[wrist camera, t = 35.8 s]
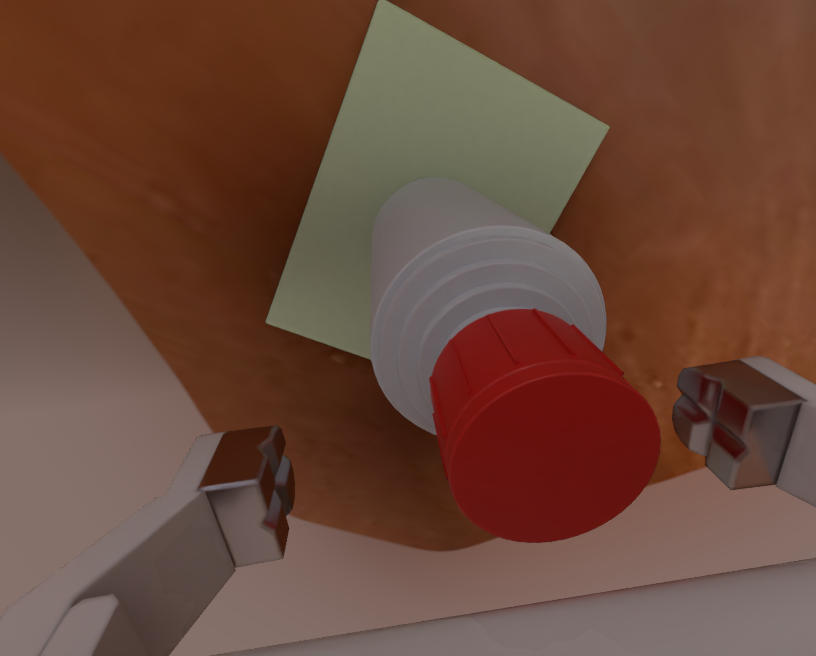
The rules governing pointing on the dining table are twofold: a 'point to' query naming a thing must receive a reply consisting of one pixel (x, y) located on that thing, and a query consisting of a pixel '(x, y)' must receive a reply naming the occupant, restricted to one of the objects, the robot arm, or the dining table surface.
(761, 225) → the dining table surface
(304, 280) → the mat
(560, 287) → the bottle
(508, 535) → the cap
